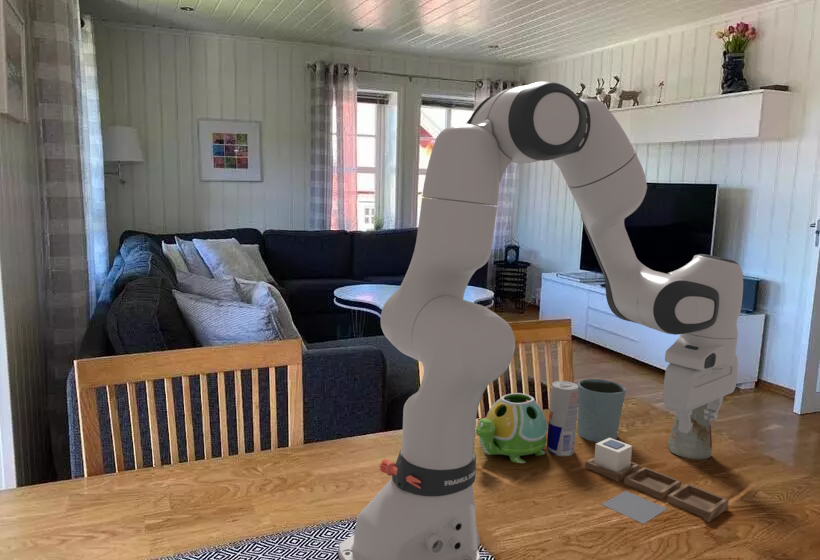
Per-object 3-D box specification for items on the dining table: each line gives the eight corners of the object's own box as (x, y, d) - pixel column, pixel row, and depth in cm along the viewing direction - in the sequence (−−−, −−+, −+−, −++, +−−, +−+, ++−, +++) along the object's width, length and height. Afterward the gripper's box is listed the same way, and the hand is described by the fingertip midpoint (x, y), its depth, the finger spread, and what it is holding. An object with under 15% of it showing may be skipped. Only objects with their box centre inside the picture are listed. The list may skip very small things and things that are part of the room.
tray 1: (618, 484, 120) (619, 475, 120) (584, 469, 126) (585, 461, 125) (638, 473, 125) (639, 464, 125) (605, 459, 130) (605, 451, 130)
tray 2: (660, 502, 114) (661, 493, 114) (623, 486, 119) (624, 477, 119) (680, 490, 119) (681, 481, 118) (643, 475, 124) (644, 466, 124)
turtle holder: (454, 455, 130) (457, 399, 128) (513, 435, 142) (517, 383, 140) (498, 478, 121) (502, 419, 119) (558, 455, 132) (562, 400, 130)
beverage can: (571, 448, 136) (576, 381, 133) (575, 459, 130) (581, 389, 128) (544, 446, 136) (549, 379, 134) (547, 457, 131) (553, 387, 128)
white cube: (616, 477, 122) (618, 451, 121) (593, 467, 125) (595, 442, 125) (629, 469, 125) (632, 445, 124) (607, 460, 129) (609, 436, 128)
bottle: (657, 450, 136) (670, 323, 132) (682, 442, 141) (696, 319, 136) (694, 466, 129) (709, 332, 124) (719, 457, 134) (735, 328, 129)
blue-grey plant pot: (566, 437, 141) (570, 385, 139) (584, 424, 149) (588, 375, 147) (611, 450, 135) (616, 396, 133) (627, 436, 143) (632, 385, 141)
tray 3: (708, 522, 108) (709, 512, 107) (666, 504, 113) (667, 495, 113) (726, 508, 112) (728, 499, 112) (686, 492, 118) (687, 483, 118)
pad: (643, 527, 105) (643, 523, 105) (601, 507, 111) (601, 504, 111) (666, 511, 111) (667, 508, 111) (625, 493, 117) (625, 490, 116)
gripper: (715, 337, 118) (707, 407, 120) (659, 353, 105) (651, 432, 107) (751, 344, 113) (741, 418, 115) (697, 362, 100) (687, 445, 102)
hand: (697, 425), depth 111 cm, fingers open, 8 cm apart
